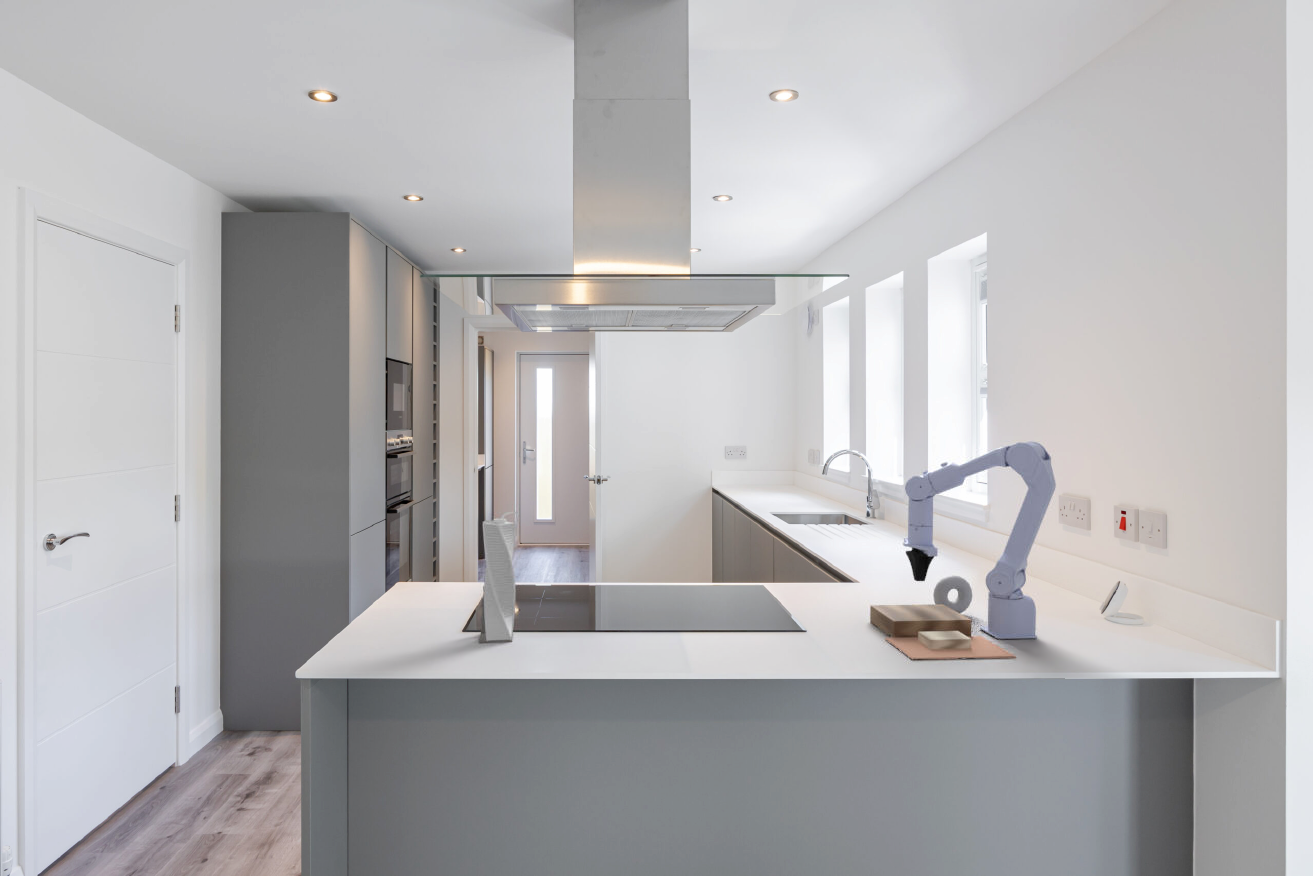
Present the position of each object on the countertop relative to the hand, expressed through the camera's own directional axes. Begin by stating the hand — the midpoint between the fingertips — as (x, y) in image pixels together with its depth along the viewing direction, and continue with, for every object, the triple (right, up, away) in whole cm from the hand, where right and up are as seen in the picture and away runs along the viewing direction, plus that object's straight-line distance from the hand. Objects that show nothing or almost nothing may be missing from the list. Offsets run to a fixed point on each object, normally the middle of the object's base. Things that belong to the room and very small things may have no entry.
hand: (919, 580), depth 184 cm
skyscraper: (-99, -10, -18) cm, 101 cm away
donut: (+10, -10, +4) cm, 14 cm away
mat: (-2, -10, -23) cm, 25 cm away
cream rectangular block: (-2, -8, -22) cm, 23 cm away
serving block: (-3, -10, -9) cm, 14 cm away
